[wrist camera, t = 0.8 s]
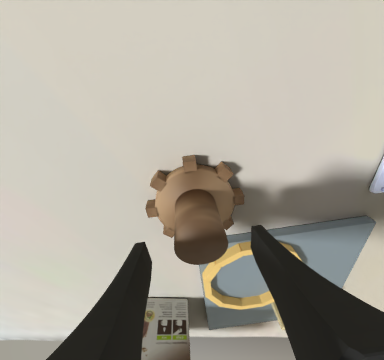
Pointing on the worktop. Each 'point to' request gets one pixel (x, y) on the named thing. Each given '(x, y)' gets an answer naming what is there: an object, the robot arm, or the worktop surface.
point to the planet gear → (195, 209)
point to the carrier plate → (253, 280)
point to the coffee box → (166, 330)
